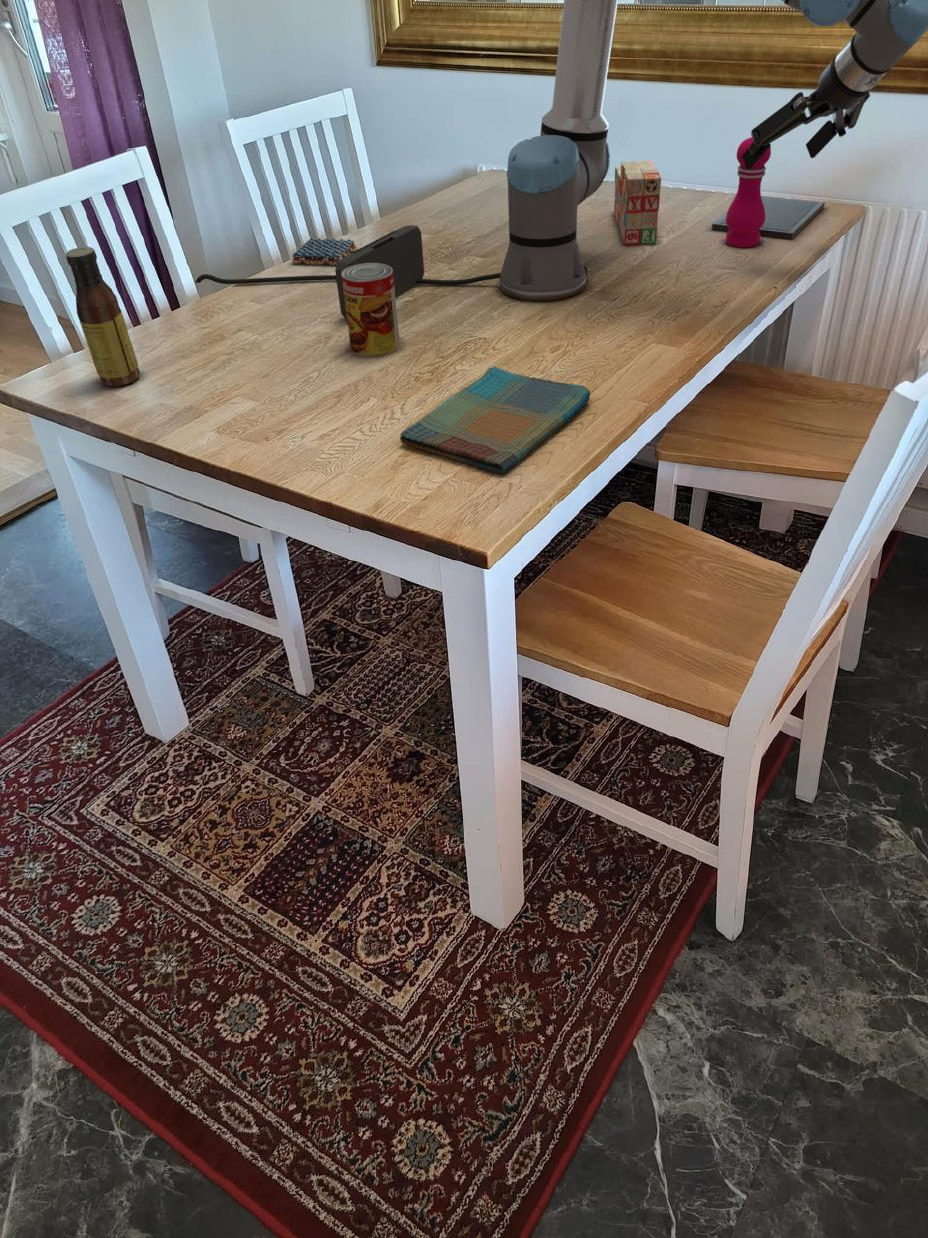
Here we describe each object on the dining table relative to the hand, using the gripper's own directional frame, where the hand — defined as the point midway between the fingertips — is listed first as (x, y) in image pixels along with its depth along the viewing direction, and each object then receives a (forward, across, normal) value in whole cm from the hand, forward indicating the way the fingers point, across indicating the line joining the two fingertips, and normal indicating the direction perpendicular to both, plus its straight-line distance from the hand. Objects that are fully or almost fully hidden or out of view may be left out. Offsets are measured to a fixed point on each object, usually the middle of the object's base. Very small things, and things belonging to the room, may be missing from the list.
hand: (778, 156), depth 171 cm
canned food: (+8, -79, -15) cm, 81 cm away
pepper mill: (+17, 0, -7) cm, 18 cm away
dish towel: (-15, -73, -39) cm, 84 cm away
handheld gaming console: (+22, -71, -2) cm, 74 cm away
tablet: (+23, +13, 0) cm, 26 cm away
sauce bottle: (+14, -118, -10) cm, 119 cm away
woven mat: (+42, -73, +18) cm, 86 cm away
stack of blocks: (+30, -13, +6) cm, 33 cm away
